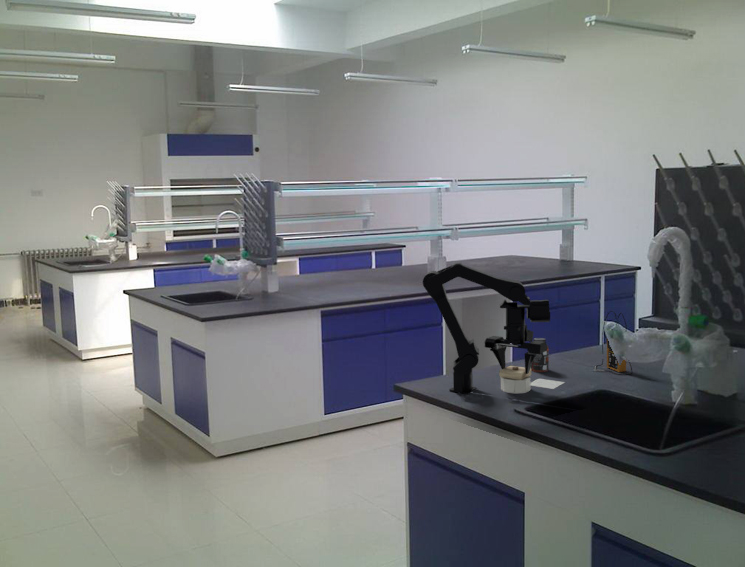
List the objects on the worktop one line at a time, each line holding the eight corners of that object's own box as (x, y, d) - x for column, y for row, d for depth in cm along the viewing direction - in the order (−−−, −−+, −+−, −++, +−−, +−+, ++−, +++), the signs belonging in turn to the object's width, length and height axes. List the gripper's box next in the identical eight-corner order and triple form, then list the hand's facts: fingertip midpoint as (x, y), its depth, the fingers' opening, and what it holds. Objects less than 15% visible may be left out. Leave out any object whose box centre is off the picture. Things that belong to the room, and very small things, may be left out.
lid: (520, 379, 219) (520, 371, 219) (499, 376, 224) (499, 368, 223) (531, 374, 225) (531, 366, 225) (510, 371, 229) (510, 363, 229)
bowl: (521, 396, 219) (521, 381, 218) (496, 392, 224) (496, 377, 224) (534, 389, 226) (534, 375, 225) (509, 385, 231) (509, 372, 230)
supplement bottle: (550, 373, 245) (550, 340, 243) (532, 373, 245) (532, 340, 243) (546, 369, 251) (546, 336, 249) (529, 369, 251) (529, 337, 249)
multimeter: (581, 367, 251) (582, 310, 249) (606, 364, 254) (607, 308, 251) (607, 377, 237) (608, 317, 235) (633, 374, 240) (634, 315, 238)
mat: (553, 390, 224) (553, 388, 224) (526, 386, 230) (526, 384, 230) (564, 383, 231) (564, 382, 231) (538, 380, 237) (538, 378, 237)
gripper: (555, 320, 223) (554, 370, 225) (500, 315, 234) (500, 363, 236) (539, 326, 214) (539, 378, 216) (483, 321, 225) (483, 370, 227)
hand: (515, 372), depth 224 cm, fingers open, 8 cm apart
